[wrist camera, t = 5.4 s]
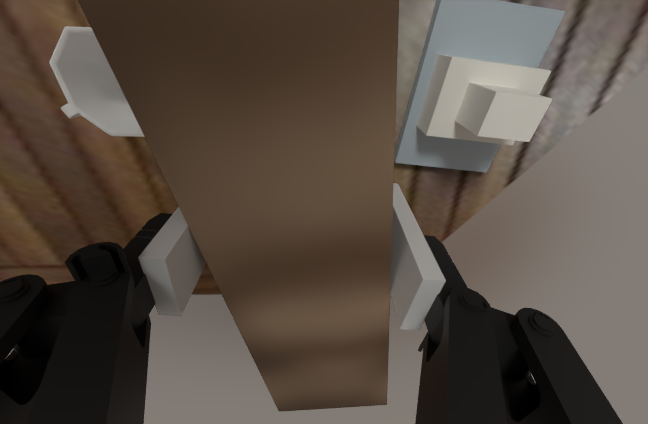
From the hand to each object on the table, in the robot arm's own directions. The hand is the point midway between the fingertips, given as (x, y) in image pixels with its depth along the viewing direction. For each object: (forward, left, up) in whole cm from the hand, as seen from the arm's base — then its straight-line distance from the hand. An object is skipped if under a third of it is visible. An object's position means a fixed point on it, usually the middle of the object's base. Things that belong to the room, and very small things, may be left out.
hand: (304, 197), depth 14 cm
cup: (-2, -15, -15) cm, 21 cm away
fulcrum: (-4, +14, -15) cm, 21 cm away
